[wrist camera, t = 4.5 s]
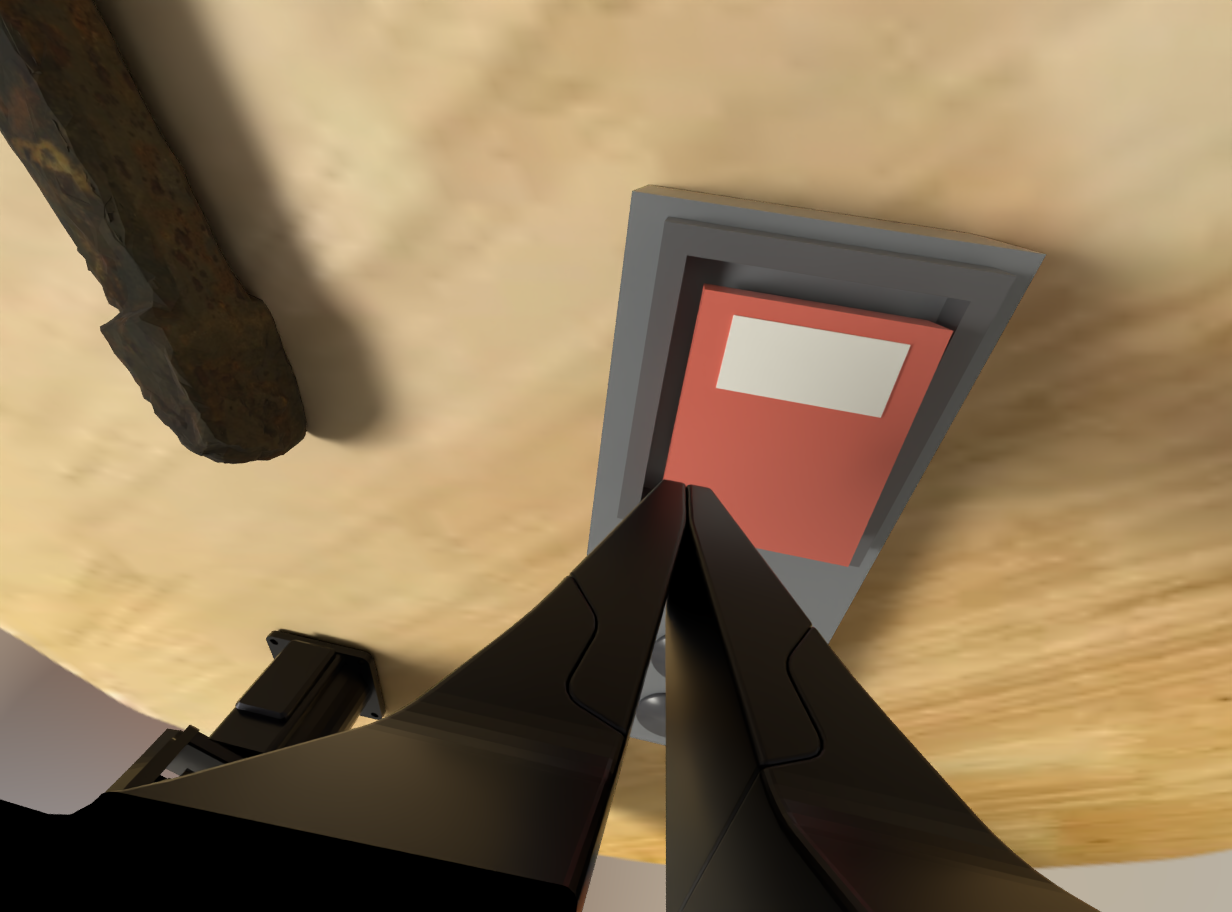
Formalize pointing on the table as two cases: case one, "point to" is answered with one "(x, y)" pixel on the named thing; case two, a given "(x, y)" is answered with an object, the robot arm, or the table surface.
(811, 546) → the red flat block
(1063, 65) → the table surface
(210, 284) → the hand tool
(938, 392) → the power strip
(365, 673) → the robot arm
